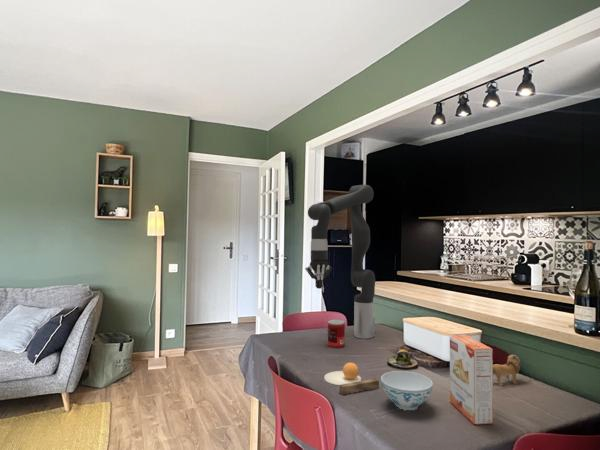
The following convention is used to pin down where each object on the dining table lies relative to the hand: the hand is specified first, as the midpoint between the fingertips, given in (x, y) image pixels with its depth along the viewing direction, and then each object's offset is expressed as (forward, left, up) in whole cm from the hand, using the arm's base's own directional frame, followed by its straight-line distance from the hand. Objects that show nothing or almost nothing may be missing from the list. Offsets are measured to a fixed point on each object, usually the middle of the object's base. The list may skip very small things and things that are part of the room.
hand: (318, 288), depth 170 cm
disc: (+7, +33, -27) cm, 43 cm away
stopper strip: (+7, +44, -27) cm, 52 cm away
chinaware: (0, +59, -27) cm, 65 cm away
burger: (-22, +30, -28) cm, 46 cm away
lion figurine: (-43, +58, -27) cm, 77 cm away
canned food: (-10, -2, -27) cm, 29 cm away
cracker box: (-14, +70, -27) cm, 76 cm away
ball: (+5, +34, -24) cm, 42 cm away
